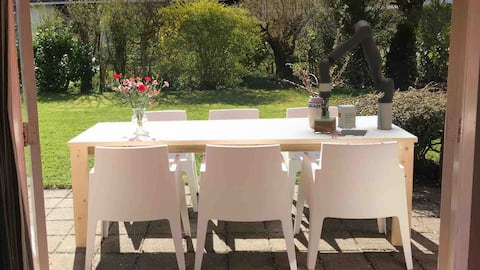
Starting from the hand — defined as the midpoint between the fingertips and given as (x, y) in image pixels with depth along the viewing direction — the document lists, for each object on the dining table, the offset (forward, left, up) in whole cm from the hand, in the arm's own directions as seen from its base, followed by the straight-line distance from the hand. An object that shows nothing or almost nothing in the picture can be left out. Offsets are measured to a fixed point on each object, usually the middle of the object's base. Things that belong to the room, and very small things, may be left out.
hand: (325, 115), depth 329 cm
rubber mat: (+2, +18, -11) cm, 21 cm away
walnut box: (0, 0, -11) cm, 11 cm away
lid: (0, 0, -4) cm, 4 cm away
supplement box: (-20, +11, -11) cm, 26 cm away
